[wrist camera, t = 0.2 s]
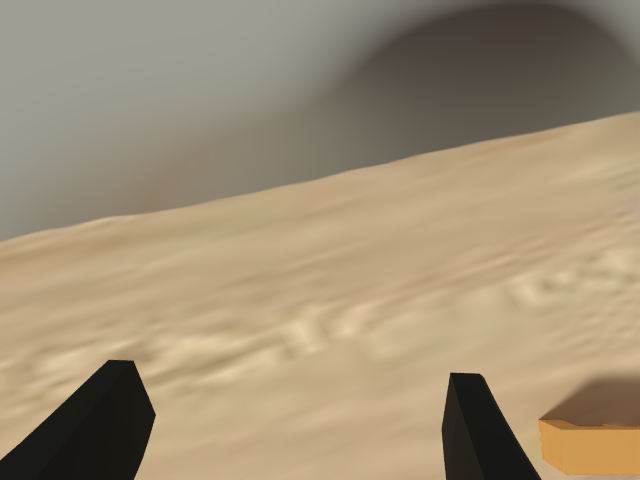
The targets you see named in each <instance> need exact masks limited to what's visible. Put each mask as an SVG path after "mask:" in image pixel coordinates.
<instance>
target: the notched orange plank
mask: <svg viewBox="0 0 640 480" xmlns="http://www.w3.org/2000/svg"><path fill="white" fill-rule="evenodd" d="M538 422H539V430H540V439H541V447H542V455H543V459H544V460H545V461H547V462H548V463H550V464H551V465H553V466H554V467H556V468H557V469H558V470H560V471H561V472H563V473H564V474H566V475H630V476H640V426H613V425H610V424H601V426H576V425H574V424H571V423H569V422H566V421H563V420H538Z"/></svg>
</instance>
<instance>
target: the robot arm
mask: <svg viewBox="0 0 640 480" xmlns="http://www.w3.org/2000/svg"><path fill="white" fill-rule="evenodd" d="M155 416H156V414H155V412H154V409H153V407H152V404H151V402H150V400H149V397H148V395H147V392H146V390H145V387H144V385H143V383H142V380H141V378H140V375H139V373H138V371H137V368H136V366H135V363H134V361H127V360H108V361H107V362H106V363H105V364H104V365H103V366H102V367H100V368H99V369H98V370H97V371H96V372H95V373H94V374H93V375H92V376H91V377H90V378H89V379H88V380H87V381H86V382H85V383H84V384H83V385H81V386H80V387H79V388H78V389H77V390H76V391H75V392H74V393H73V394H72V395H71V396H70V397H69V398H68V399H67V400H66V401H65V402H64V403H63V404H62V405H60V406H59V407H58V408H57V409H56V410H55V411H54V412H53V413H52V414H51V415H50V416H49V417H48V418H47V419H46V420H45V421H43V422H42V423H41V424H40V425H39V426H38V427H37V428H36V429H35V430H34V431H33V432H32V433H30V434H29V435H28V436H27V437H26V438H25V439H24V440H23V441H22V442H21V443H20V444H18V445H17V446H16V447H15V448H14V449H13V450H12V451H10V452H9V453H8V454H7V455H6V456H5V457H4V458H2V459H1V460H0V480H134V478H135V476H136V473H137V471H138V469H139V466H140V464H141V461H142V459H143V456H144V453H145V450H146V447H147V444H148V440H149V437H150V434H151V430H152V427H153V423H154V420H155ZM442 440H443V451H444V462H445V472H446V480H541V478H540V476H539V475H538V473H537V472H536V470H535V468H534V467H533V465H532V464H531V462H530V460H529V459H528V457H527V456H526V454H525V452H524V451H523V449H522V447H521V446H520V444H519V442H518V441H517V439H516V437H515V435H514V434H513V432H512V430H511V428H510V427H509V425H508V423H507V421H506V420H505V418H504V416H503V414H502V412H501V410H500V409H499V407H498V405H497V403H496V401H495V399H494V397H493V395H492V393H491V391H490V389H489V387H488V385H487V383H486V381H485V379H484V377H483V376H482V375H480V374H474V373H450V378H449V385H448V391H447V398H446V404H445V411H444V417H443V424H442Z"/></svg>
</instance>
